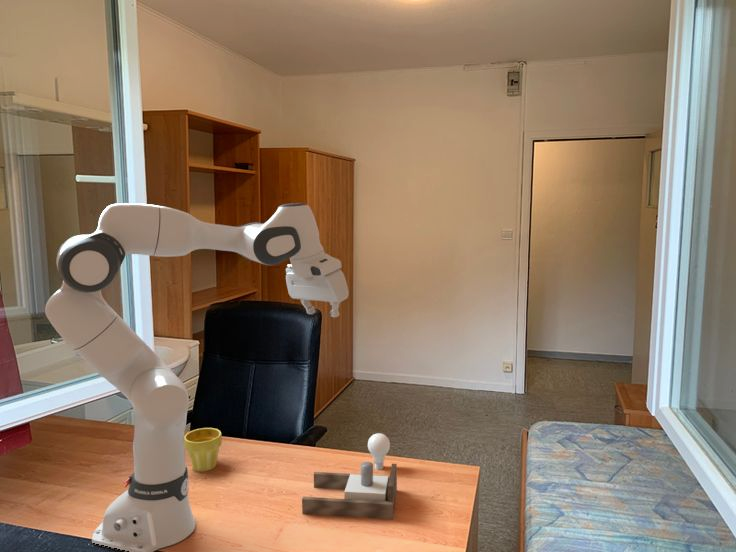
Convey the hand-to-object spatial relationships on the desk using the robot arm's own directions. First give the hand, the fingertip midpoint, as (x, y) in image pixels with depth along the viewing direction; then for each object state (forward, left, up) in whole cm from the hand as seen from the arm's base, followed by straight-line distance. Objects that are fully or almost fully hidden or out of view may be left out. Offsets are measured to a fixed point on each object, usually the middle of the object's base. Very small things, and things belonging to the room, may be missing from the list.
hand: (323, 314), depth 142 cm
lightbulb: (+13, +11, -48) cm, 51 cm away
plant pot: (-38, +8, -48) cm, 61 cm away
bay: (+8, -8, -47) cm, 49 cm away
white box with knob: (+12, -8, -46) cm, 48 cm away
